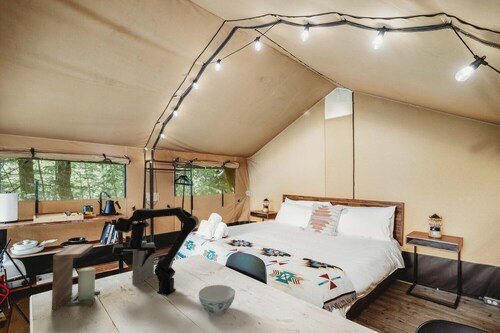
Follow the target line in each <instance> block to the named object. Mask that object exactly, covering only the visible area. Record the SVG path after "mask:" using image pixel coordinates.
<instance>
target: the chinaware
mask: <svg viewBox="0 0 500 333" xmlns="http://www.w3.org/2000/svg"><path fill="white" fill-rule="evenodd" d="M235 295H236V291H235V289H234V288H233V287H231V286H228V285H225V284H213V285H208V286H206V287H203V288H201V289H200V290H199V291H198V299H199V302H200V305H201V306H202V307H203V309H204V310H206V311H207V312H208V314H209V315H211V316H215V317H216V316H217V317H218V316H221V315H223V314H224V313H225V312H226V311H227V310H228V309H230V307H231V305H232V303H233V301H234V300H235Z"/></svg>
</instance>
